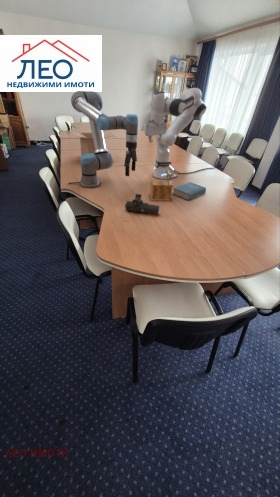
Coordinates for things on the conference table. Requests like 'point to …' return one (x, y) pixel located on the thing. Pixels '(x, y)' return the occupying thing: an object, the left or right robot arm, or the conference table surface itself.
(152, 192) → the chest
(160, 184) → the lid
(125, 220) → the conference table surface
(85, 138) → the box
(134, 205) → the laser sight
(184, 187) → the book
